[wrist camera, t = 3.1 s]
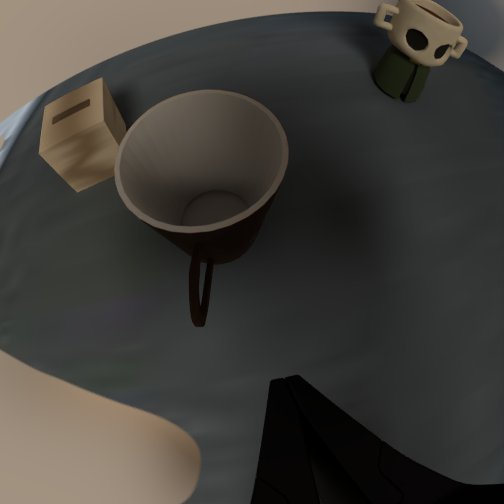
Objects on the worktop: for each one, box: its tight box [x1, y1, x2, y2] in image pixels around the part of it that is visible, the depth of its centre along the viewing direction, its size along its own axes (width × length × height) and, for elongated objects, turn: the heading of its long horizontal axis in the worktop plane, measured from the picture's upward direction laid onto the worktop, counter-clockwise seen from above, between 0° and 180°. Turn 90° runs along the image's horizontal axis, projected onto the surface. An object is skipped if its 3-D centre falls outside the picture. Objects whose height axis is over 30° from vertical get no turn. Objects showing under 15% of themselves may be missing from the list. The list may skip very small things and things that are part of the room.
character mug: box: [374, 0, 467, 102], centre depth 22 cm, size 11×7×13 cm, turn 81°
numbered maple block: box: [39, 78, 127, 192], centre depth 21 cm, size 6×6×7 cm
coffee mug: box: [114, 90, 289, 327], centre depth 18 cm, size 12×9×10 cm
